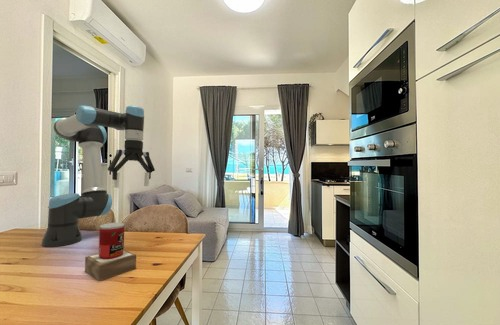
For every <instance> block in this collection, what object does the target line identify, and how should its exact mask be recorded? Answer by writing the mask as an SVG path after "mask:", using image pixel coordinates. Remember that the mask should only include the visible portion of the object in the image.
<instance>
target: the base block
mask: <svg viewBox="0 0 500 325" xmlns="http://www.w3.org/2000/svg"><path fill="white" fill-rule="evenodd" d="M84 259H85V262H84V272H85V273H86V274H88V275H90V276H91V277H93V278H94V279H95V280H97V281H98V282H101V281H103V280H106V279H107V280H108V279H110V278H112V277H116V276H119V275H122V274H124V273H127V272H129V271H133V270H136V269H137V254H136V253H133V252H130V251H128V250H126V249H124V251H123V254H122V255H121V256H119V257H117V258H112V259H101V258H100V257H99V253H96V254H93V255H88V256H85V258H84Z"/></svg>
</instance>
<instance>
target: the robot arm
mask: <svg viewBox="0 0 500 325" xmlns="http://www.w3.org/2000/svg"><path fill="white" fill-rule="evenodd" d="M105 127H106V128H112V129H115V130H117V131H124V139H125V140H124V146H123V147H124V150H123V149H117V150H116V152H115V153H116V154H115V156H114V157H113V159H112V161H111V162H110V164H109V165H108V167H107V171H109V172H111V173H112V174H111V175H112V181H114V182H113V185H114V186H113V188H118V189H119V188H120V169H122V167H124V165H125V164H126V163H127V162H129V161H131V162H132V161H134V162H135V161H136V162H138V163H139V164H140V165H141V167H142V168H143V169H144V170H145V172H144V179H143V180H144V184H143V186H144V187H149V186H150V180H151V179H152V172H156V168H155V167H154V164H153V162H152V159H151V157H150V152H149V151H144V152H143V149H144V141H143V140H144V129H145V128H144V127H145V110H144V108H143V107H141V106H137V105H127V106H126V107H125V112H124V113H123V112H122V113H121V112H116V111H112V110H107V109H104V108H99V107H93V106H90V105H79V106H78V108H77V109H76V112H75V114H73V115H71V116H69V117H61V118H59V119H57V120H56V121H55V122H54V124H53V132H55V134H56V135H57V136H58V137H59V138H61V139H63V140H66V141H69V142H76V143H77V144H78V147H79V148H80V149H81V151H82V166H83V167H82V169H83V170H82V172H83V183H84V184H83V185H84V190H83V191H82V192H81V193H80V194H81V195H80V194H79V193H67V194H60V195H56V196H55V195H54V196H53V197H51V198H50V199H49V201H48V207H47V209H48V213H47V214H48V216H47V229H46V231H45V233H44V235H43V237H42V240H41V246H43V247H44V248H45V247H46V248H48V247H49V248H52V247H62V246H68V245H72V244H76V243H78V242H81V241H82V237H83V235H82V233H81V230H80V227H79V219H87V218H94V217H100V216H105V215H107V214H109V212H110V211H111V209H112V205H113V198H112V195H111V194H109V193H108V191H107V189H105V188H104V181H103V168H102V155H101V154H102V153H101V148H103V147H104V144H105V143H106V141H107V138H108V135H107V131H106V128H105ZM123 155H124V157H123V158H122V159H121V157H122V156H123ZM143 157H144V158H143ZM120 159H121V160H120ZM119 160H120V161H119ZM118 162H119V163H118Z"/></svg>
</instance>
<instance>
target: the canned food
mask: <svg viewBox="0 0 500 325" xmlns="http://www.w3.org/2000/svg"><path fill="white" fill-rule="evenodd" d="M98 233H99V236H98V254H99V257H100V258H101V259H112V258H117V257H119V256H121V255H122V254H123V251H124V250H125V249H124V248H125V223H122V222H109V223H104V224H101V225H100V226H99V232H98Z"/></svg>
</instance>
